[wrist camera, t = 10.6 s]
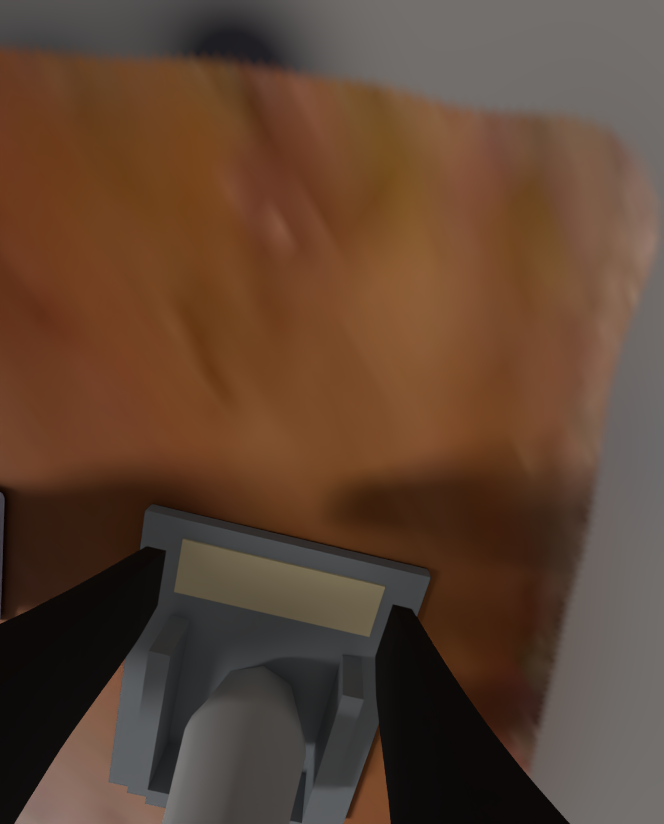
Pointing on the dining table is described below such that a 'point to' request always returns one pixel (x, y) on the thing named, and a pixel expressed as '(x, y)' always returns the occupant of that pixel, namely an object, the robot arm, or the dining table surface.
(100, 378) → the dining table surface
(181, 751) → the salt shaker
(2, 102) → the dining table surface
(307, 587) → the stand
